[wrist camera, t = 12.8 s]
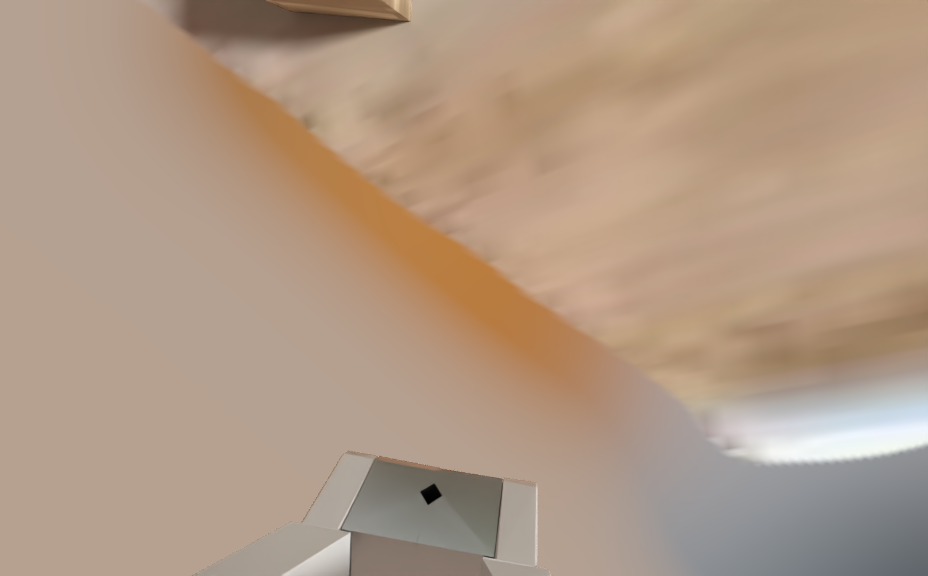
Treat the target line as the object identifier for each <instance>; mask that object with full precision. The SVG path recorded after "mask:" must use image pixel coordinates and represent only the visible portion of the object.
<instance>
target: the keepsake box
mask: <svg viewBox="0 0 928 576" xmlns="http://www.w3.org/2000/svg"><path fill="white" fill-rule="evenodd" d="M265 1H268V2H270V3H272V4H275V5H277V6H279V7H282V8H284V9H286V10H289V11H291V12H303V13H315V14H327V15H339V16H351V17H364V18H376V19H388V20H400V21H411V3H412V0H265Z"/></svg>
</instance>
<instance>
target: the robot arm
mask: <svg viewBox="0 0 928 576" xmlns="http://www.w3.org/2000/svg"><path fill="white" fill-rule="evenodd" d="M502 480H503V482H502ZM537 503H538V487H537V484H536V482H531V481H524V480H517V479H509V478H504V479H501V478H496V477H490V476H483V475H477V474H471V473H465V472H459V471H452V470H447V469H441V468H438V467H433V466H428V465H422V464H418V463H413V462H407V461H402V460H397V459H391V458H387V457H382V456H379V457H377V456H375V455H370V454H364V453H359V452H353V451H347V452H346V453H344V454H343V455H342V456H341V458H340V459H339V461H338V462H337V464H336V466H335V467H334V469H333V471H332V473H331V474H330V476H329V477H328V479H327V481H326V482H325V484H324V486H323V487H322V489H321V491H320V492H319V494H318V496H317V497H316V499H315V501H314V502H313V504H312V506H311V507H310V509H309V511H308V512H307V514H306V516H305V517H304V519H303V521H302V523H298V522H292V521H291V522H289V523H288V524H286V525H284V526H282V527H280V528H278V529H276V530H275V531H273V532H271V533H269V534H268V535H265V536H264V537H262V538H260V539H258V540H257V541H255V542H253V543H251V544H249V545H247V546H246V547H244V548H242V549H240V550H238V551H236V552H234V553H232V554H231V555H229V556H227V557H225V558H224V559H222V560H220V561H218V562H216V563H214V564H212V565H211V566H209V567H207V568H205V569H203V570H201V571H200V572H198V573H196V574H194V575H192V576H552V575H551V573H550V572H549V570H548V569H544V568H539V567H537V509H538V508H537V507H538V504H537Z"/></svg>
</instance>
